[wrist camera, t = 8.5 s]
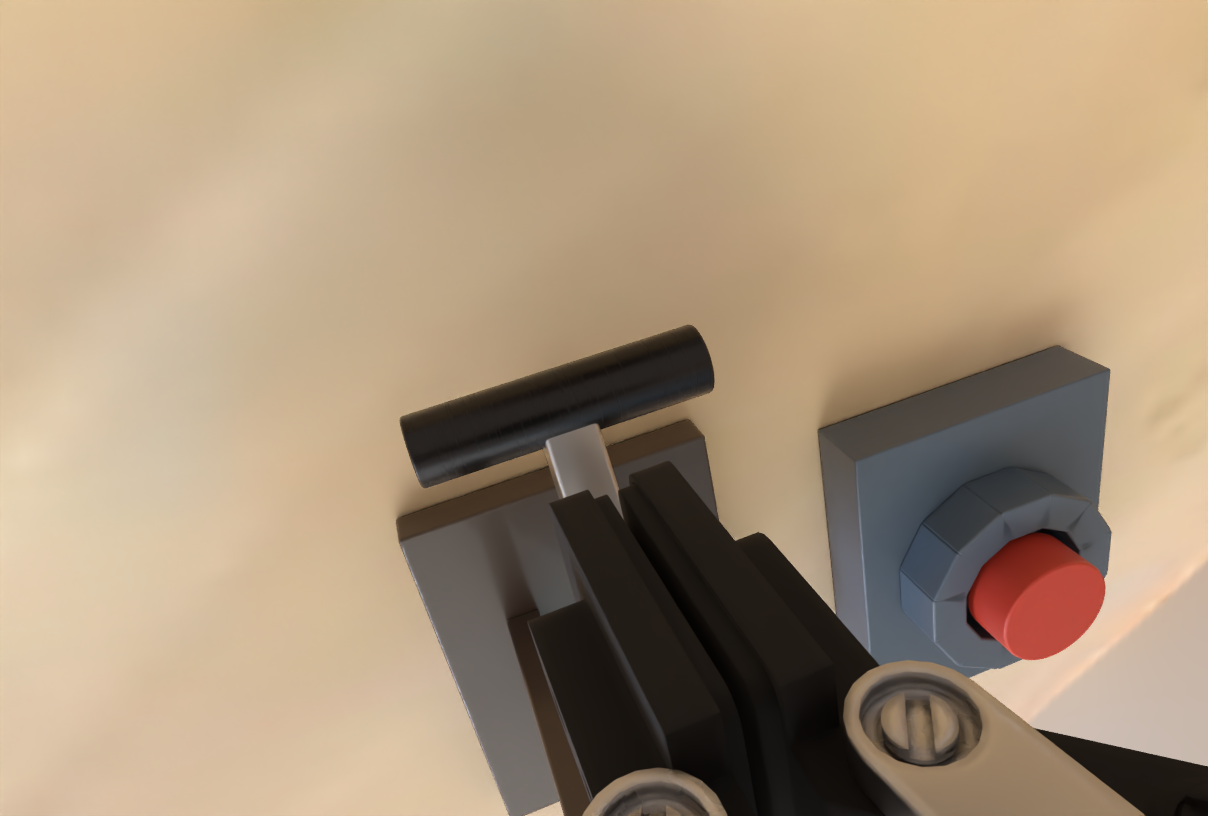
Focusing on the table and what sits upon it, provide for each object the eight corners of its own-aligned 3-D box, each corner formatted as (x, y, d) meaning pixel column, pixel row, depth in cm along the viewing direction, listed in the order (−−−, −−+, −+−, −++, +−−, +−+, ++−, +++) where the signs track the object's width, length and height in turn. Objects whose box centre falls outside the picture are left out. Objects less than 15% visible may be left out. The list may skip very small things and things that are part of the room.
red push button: (966, 554, 26) (1006, 588, 24) (1065, 515, 27) (1111, 546, 25) (966, 640, 28) (1003, 677, 26) (1060, 602, 28) (1102, 635, 27)
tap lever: (401, 414, 17) (395, 421, 15) (674, 326, 18) (708, 320, 16) (608, 1022, 19) (632, 1116, 16) (850, 911, 20) (906, 985, 17)
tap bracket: (394, 518, 24) (456, 961, 13) (689, 417, 25) (975, 737, 14) (504, 793, 29) (614, 1267, 18) (740, 698, 31) (973, 1084, 20)
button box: (817, 429, 27) (890, 491, 23) (1058, 344, 28) (1160, 391, 25) (842, 676, 32) (905, 757, 29) (1044, 593, 34) (1128, 661, 30)
